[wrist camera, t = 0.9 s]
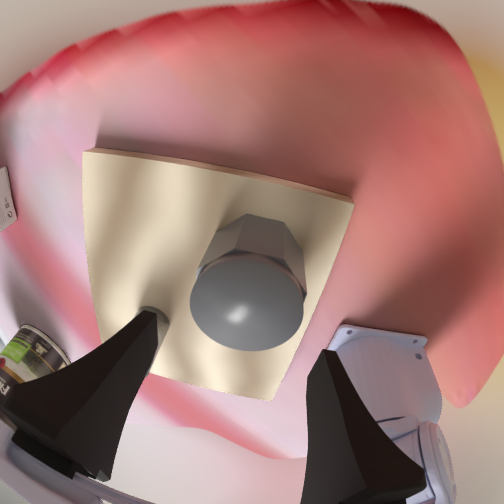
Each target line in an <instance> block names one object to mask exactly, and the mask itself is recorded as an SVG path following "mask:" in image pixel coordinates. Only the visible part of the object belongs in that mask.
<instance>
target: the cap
mask: <svg viewBox="0 0 504 504" xmlns="http://www.w3.org/2000/svg"><path fill="white" fill-rule="evenodd" d="M306 296H307V286H306V276H305V267H304V257H303V251H302V249H301V248H300V246H299V245H298V243H297V241H296V240H295V238H294V237H293V235H292V234H291V232H290V231H289V229H288V227H287V226H286V224H285V223H284V222H281V221H277V220H273V219H269V218H264V217H260V216H255V215H251V214H247V213H246V214H245V215H243V216H241V217H240V218H238V219H236V220H235V221H233V222H231V223H229V224H228V225H226V226H225V227H223V228H221V229H220V230H218V231H216V232H215V234H214V236H213V238H212V240H211V242H210V244H209V246H208V248H207V250H206V252H205V254H204V256H203V258H202V260H201V262H200V264H199V266H198V268H197V273H196V282H195V284H194V287H193V289H192V292H191V295H190V311H191V314H192V317H193V319H194V321H195V323H196V324H197V326H198V327H199V328H200V329H201V331H202V332H203V333H204V334H206V335H207V336H208V337H209V338H211V339H212V340H214V341H215V342H217V343H219V344H221V345H223V346H226V347H228V348H232V349H236V350H241V351H263V350H268V349H271V348H275V347H277V346H279V345H281V344H283V343H285V342H286V341H288V340H289V339H290V338H291V337H292V336H293V335H294V334H295V333H296V332H297V331H298V329H299V327H300V325H301V323H302V320H303V315H304V306H303V304H304V301H305V299H306Z"/></svg>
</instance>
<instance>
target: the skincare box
mask: <svg viewBox="0 0 504 504" xmlns="http://www.w3.org/2000/svg"><path fill="white" fill-rule="evenodd" d="M16 220H17V216H16V212H15V209H14V205H13V201H12V196H11V189H10V183H9V177H8V171H7V168H6V167H2V168H0V232H1V231H2V230H4V229H5V228H6V227H8V226H9V225H11V224H12V223H14V222H15V221H16Z"/></svg>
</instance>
